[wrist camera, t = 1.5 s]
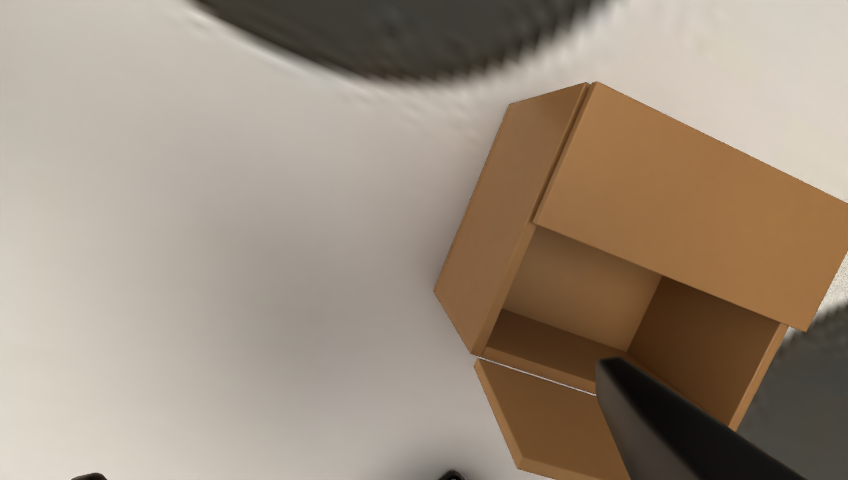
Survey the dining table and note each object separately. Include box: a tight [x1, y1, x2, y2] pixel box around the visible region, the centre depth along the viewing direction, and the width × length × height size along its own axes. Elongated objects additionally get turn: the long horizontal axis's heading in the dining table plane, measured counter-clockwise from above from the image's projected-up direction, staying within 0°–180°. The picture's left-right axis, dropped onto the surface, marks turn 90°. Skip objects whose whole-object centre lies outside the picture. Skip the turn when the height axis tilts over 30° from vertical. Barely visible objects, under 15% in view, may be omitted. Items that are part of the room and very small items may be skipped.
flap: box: [474, 358, 631, 480], centre depth 17 cm, size 5×13×1 cm
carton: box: [433, 82, 848, 432], centre depth 23 cm, size 11×13×9 cm
